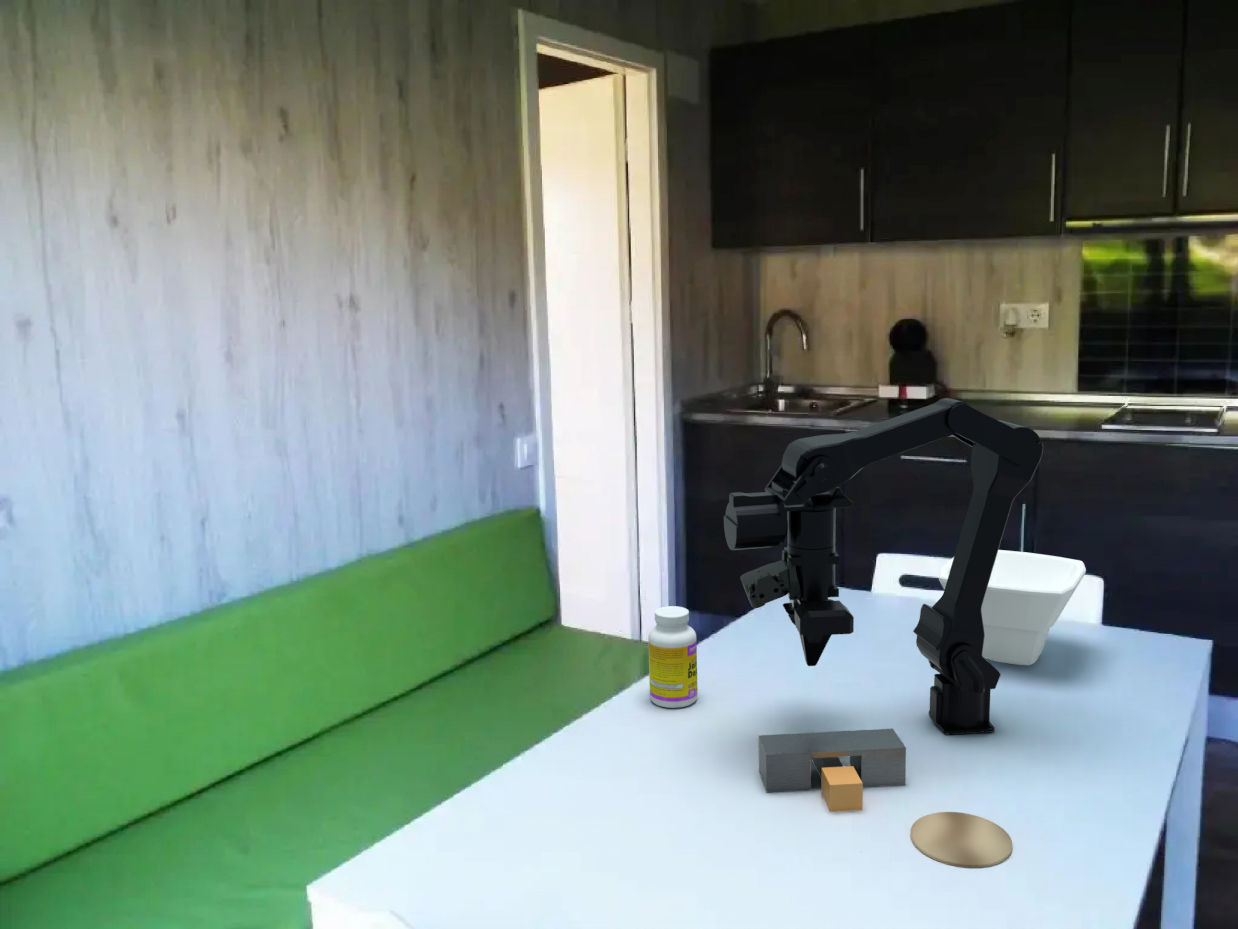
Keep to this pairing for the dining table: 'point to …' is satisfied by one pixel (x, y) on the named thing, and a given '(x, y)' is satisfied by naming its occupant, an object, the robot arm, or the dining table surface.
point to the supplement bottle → (672, 659)
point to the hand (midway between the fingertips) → (811, 665)
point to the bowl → (1023, 602)
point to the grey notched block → (869, 752)
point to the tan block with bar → (839, 785)
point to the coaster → (961, 839)
